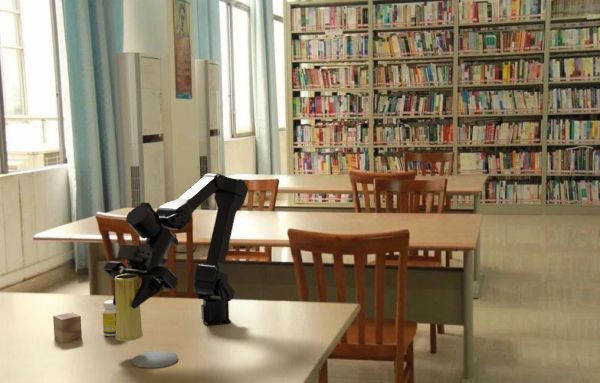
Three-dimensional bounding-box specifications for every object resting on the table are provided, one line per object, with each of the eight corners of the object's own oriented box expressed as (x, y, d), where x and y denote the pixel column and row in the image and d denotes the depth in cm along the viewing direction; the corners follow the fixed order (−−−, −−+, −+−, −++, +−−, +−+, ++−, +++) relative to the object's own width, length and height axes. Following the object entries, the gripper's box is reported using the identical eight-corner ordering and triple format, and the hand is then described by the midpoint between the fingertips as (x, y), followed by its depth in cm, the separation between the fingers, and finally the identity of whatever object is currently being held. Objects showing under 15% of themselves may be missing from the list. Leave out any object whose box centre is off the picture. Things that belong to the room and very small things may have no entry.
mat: (173, 351, 175) (173, 349, 175) (181, 364, 165) (181, 361, 165) (129, 357, 171) (129, 354, 171) (135, 370, 162) (135, 367, 162)
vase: (147, 333, 174) (144, 273, 172) (135, 341, 168) (133, 279, 166) (122, 332, 175) (120, 272, 174) (110, 340, 169) (108, 278, 168)
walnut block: (73, 335, 190) (72, 312, 189) (81, 339, 186) (80, 315, 186) (54, 339, 187) (53, 315, 186) (62, 343, 183) (61, 319, 182)
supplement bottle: (117, 336, 187) (116, 304, 187) (100, 336, 188) (98, 303, 188) (125, 331, 192) (124, 299, 191) (108, 330, 193) (107, 299, 192)
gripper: (106, 227, 177) (73, 283, 169) (167, 232, 167) (135, 291, 159) (131, 254, 185) (101, 308, 176) (191, 260, 175) (161, 318, 167)
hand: (123, 306), depth 170 cm, fingers closed on vase, 5 cm apart
